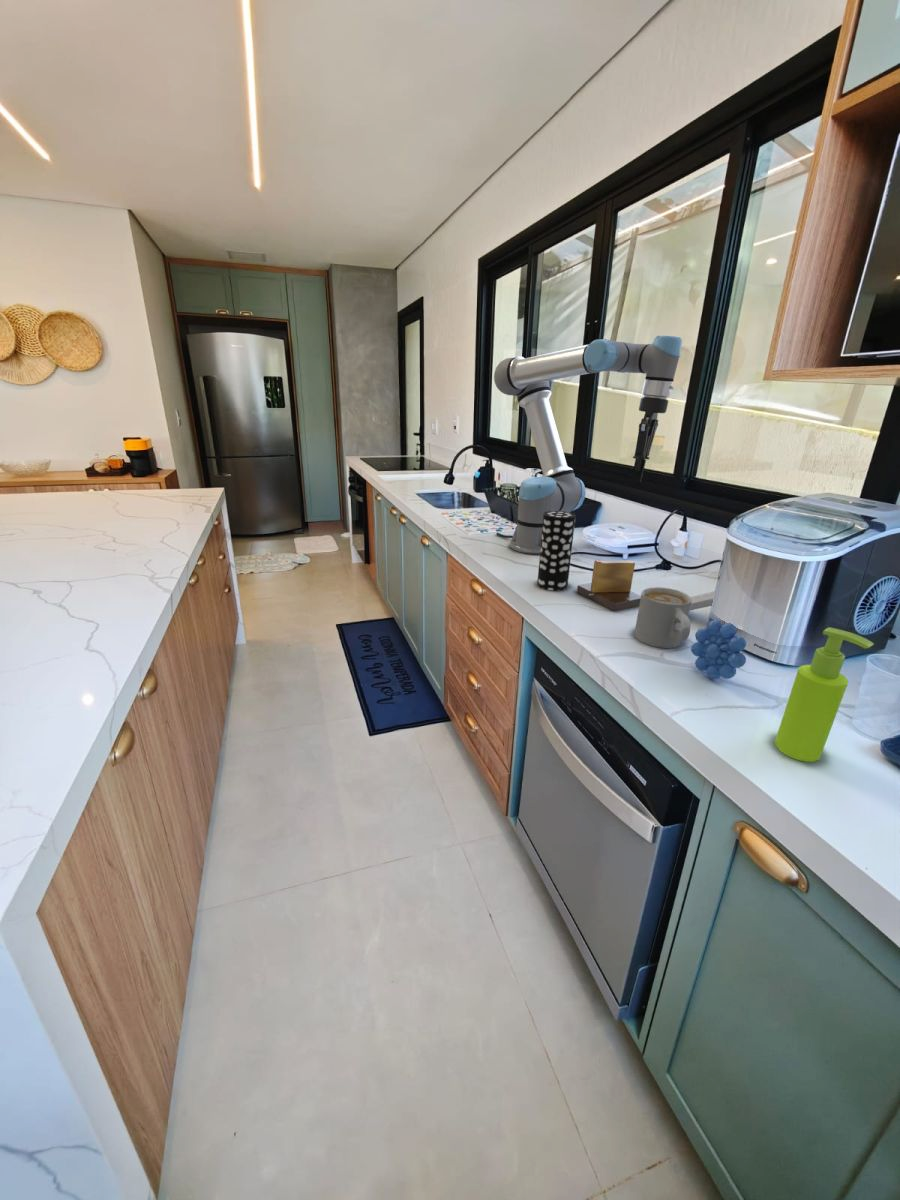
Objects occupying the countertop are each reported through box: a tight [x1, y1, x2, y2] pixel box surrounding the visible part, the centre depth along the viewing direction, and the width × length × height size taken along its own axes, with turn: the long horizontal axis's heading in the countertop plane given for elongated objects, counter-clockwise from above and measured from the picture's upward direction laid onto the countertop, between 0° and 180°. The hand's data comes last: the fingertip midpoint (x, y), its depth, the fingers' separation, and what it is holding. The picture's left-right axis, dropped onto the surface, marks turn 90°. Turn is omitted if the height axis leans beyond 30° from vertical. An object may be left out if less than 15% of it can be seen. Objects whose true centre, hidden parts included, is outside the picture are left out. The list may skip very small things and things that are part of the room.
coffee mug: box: [633, 586, 692, 649], centre depth 108 cm, size 13×10×10 cm
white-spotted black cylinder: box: [536, 511, 577, 592], centre depth 136 cm, size 8×8×20 cm
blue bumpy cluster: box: [690, 619, 747, 680], centre depth 93 cm, size 12×7×12 cm, turn 17°
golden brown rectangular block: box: [590, 559, 636, 592], centre depth 130 cm, size 10×2×8 cm, turn 95°
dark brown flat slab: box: [576, 581, 641, 612], centre depth 132 cm, size 14×14×2 cm
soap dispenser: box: [774, 626, 875, 763], centre depth 72 cm, size 6×7×20 cm
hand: (635, 481), depth 152 cm, fingers closed
